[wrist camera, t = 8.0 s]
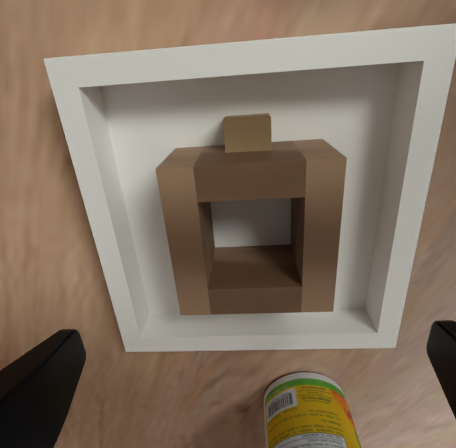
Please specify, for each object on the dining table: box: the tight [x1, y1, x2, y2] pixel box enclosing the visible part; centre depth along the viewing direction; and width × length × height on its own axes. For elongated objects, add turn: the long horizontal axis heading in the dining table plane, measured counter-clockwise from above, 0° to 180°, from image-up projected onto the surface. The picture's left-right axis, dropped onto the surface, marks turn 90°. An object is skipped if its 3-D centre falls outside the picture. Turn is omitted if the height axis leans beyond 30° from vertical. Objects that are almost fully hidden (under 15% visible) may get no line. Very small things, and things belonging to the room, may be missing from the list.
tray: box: [44, 23, 456, 352], centre depth 15 cm, size 14×14×2 cm
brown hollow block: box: [156, 113, 347, 315], centre depth 13 cm, size 8×6×4 cm
